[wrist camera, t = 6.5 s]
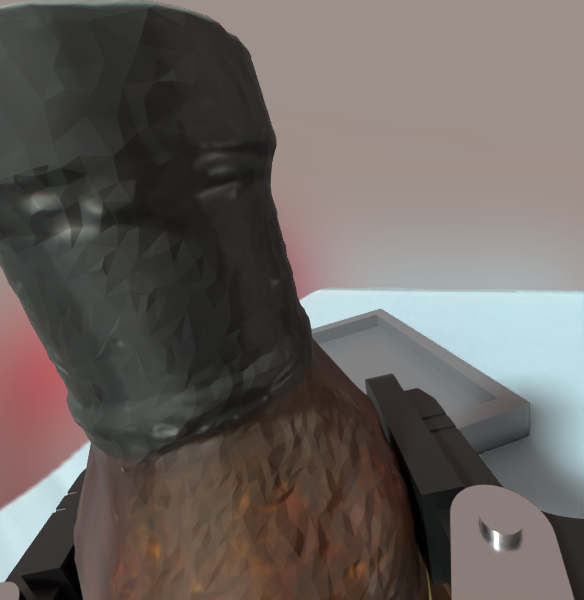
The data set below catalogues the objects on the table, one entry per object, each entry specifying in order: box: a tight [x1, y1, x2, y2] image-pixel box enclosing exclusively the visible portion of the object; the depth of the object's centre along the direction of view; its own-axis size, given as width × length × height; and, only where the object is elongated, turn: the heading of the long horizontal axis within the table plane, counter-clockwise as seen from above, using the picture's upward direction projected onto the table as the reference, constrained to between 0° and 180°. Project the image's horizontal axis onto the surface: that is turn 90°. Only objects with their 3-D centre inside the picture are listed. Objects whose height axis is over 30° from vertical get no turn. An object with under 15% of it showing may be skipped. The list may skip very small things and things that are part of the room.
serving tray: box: [311, 309, 530, 454], centre depth 29 cm, size 20×20×2 cm
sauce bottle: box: [0, 0, 432, 600], centre depth 7 cm, size 6×6×20 cm
